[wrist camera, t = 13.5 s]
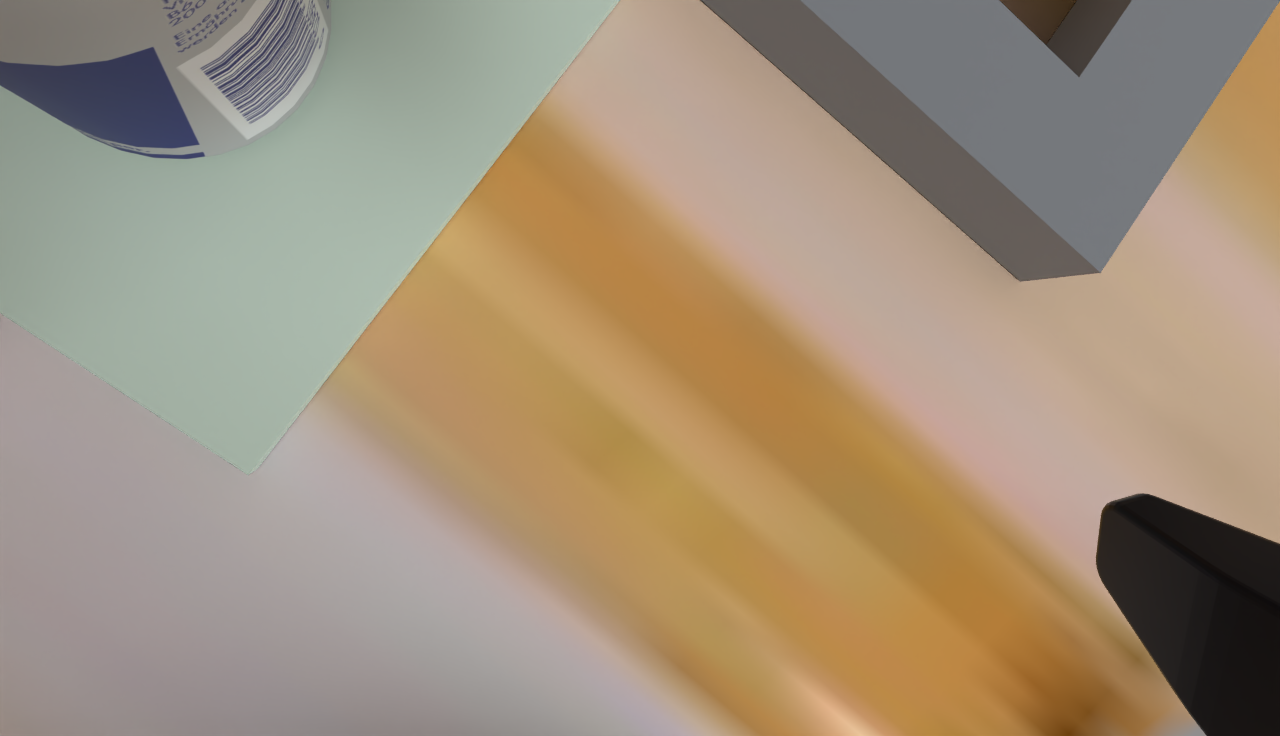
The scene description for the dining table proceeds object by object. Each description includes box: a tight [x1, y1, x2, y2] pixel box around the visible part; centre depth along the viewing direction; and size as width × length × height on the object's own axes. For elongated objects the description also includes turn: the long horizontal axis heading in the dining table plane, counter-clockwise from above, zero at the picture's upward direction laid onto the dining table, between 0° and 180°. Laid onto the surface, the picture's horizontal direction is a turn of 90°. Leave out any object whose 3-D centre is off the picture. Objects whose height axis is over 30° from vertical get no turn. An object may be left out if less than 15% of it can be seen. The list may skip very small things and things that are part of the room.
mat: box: [0, 0, 620, 475], centre depth 16 cm, size 12×12×1 cm
